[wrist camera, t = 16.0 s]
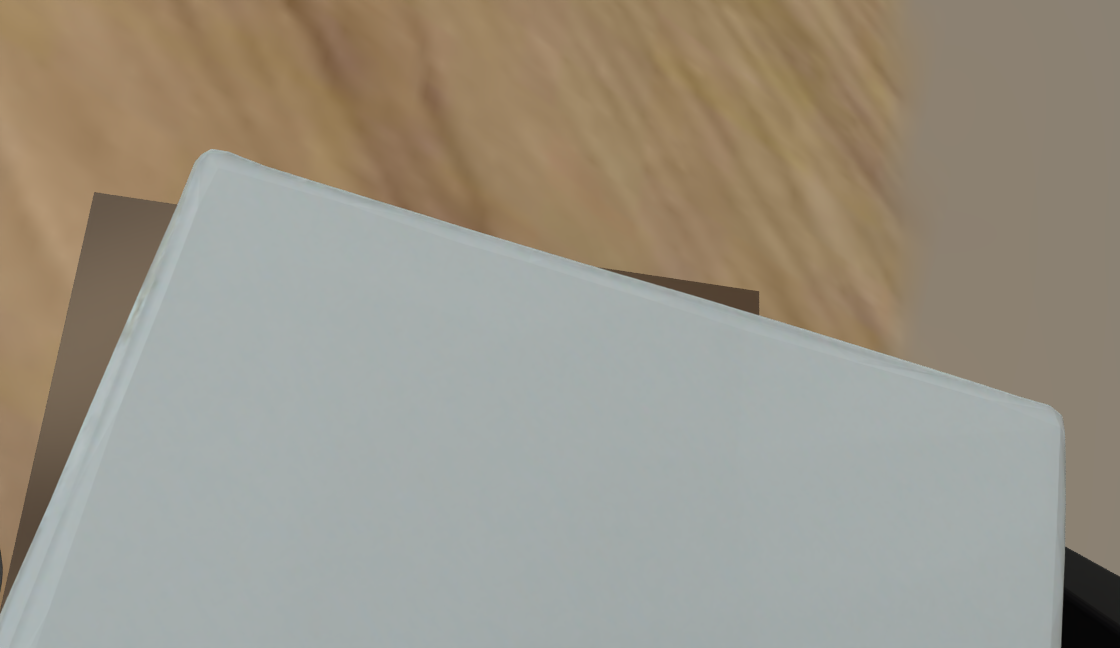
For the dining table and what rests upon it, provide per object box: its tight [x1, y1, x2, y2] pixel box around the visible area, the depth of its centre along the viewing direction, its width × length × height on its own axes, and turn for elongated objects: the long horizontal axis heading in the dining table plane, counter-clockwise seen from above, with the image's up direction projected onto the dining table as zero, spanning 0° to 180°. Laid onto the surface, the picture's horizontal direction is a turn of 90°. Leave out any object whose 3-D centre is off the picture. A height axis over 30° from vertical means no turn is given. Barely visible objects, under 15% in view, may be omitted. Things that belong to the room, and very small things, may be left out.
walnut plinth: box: [0, 192, 759, 614], centre depth 17 cm, size 13×13×2 cm
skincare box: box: [0, 149, 1066, 648], centre depth 11 cm, size 6×4×12 cm
